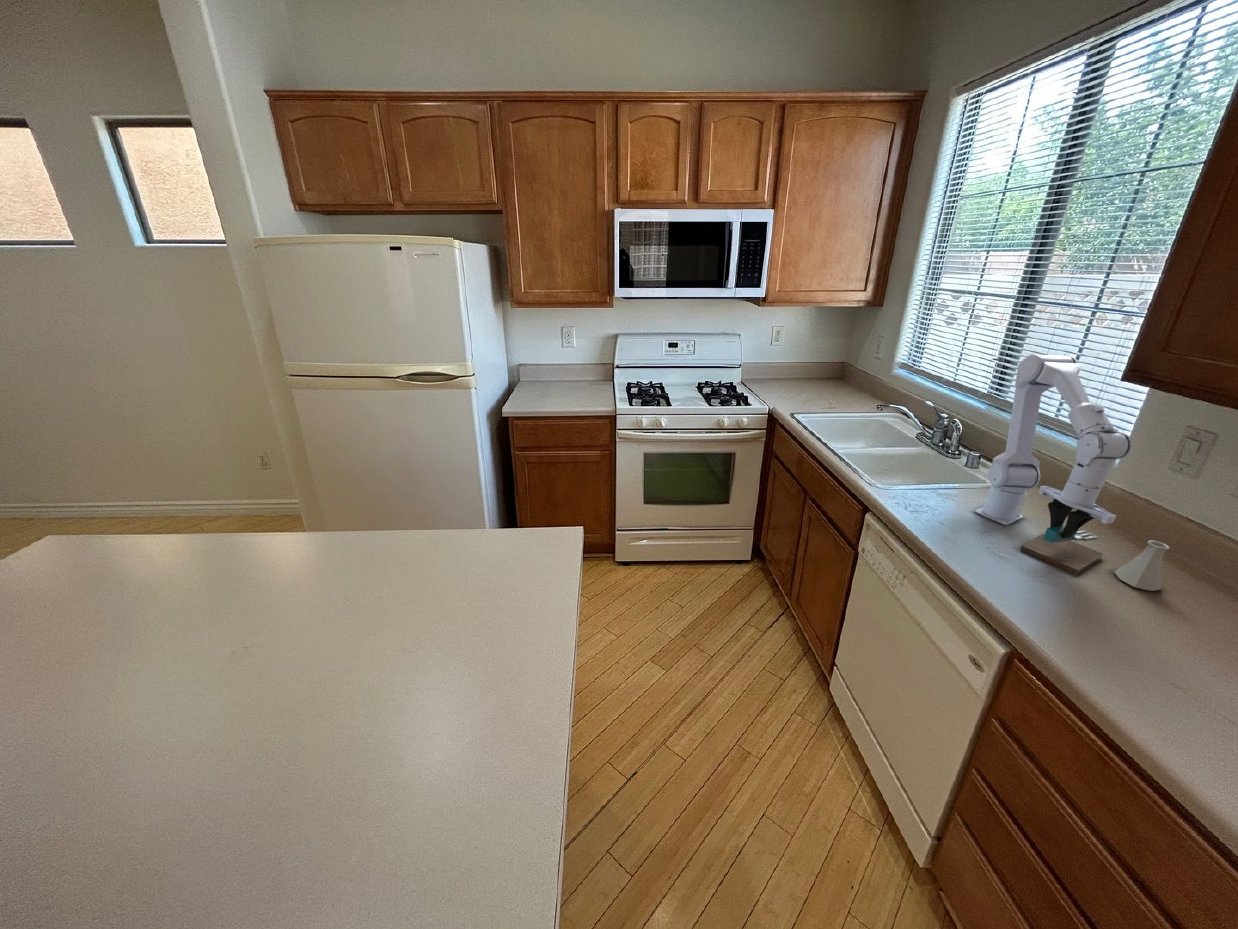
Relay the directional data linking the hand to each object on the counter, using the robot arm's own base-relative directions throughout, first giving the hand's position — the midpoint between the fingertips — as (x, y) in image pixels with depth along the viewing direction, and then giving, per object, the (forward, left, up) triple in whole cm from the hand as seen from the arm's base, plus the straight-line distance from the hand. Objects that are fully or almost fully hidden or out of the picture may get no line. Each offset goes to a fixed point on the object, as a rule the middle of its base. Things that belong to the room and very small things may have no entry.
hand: (1059, 534), depth 112 cm
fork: (-4, +1, -1) cm, 4 cm away
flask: (-6, +14, -6) cm, 17 cm away
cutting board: (-3, +1, -6) cm, 7 cm away
